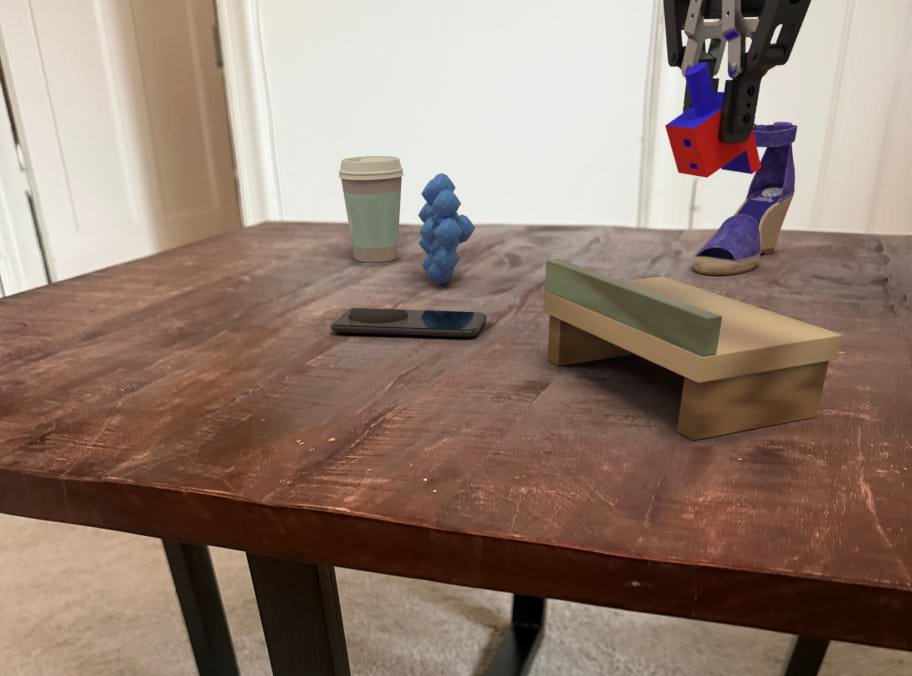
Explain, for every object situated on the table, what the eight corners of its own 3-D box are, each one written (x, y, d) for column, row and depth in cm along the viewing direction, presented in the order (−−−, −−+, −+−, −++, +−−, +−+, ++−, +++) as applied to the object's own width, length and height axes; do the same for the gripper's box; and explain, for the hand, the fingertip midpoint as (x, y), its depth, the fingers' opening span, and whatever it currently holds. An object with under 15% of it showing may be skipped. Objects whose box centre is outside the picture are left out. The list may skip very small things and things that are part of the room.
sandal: (668, 269, 109) (685, 130, 100) (752, 246, 120) (774, 119, 111) (726, 278, 104) (749, 133, 95) (808, 253, 115) (835, 121, 106)
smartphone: (488, 319, 90) (349, 315, 93) (488, 311, 90) (348, 306, 92) (476, 339, 84) (328, 334, 87) (476, 330, 84) (327, 325, 86)
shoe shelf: (654, 343, 82) (665, 246, 77) (823, 416, 65) (851, 297, 60) (541, 360, 78) (545, 259, 73) (689, 442, 61) (707, 317, 56)
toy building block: (684, 195, 65) (653, 85, 60) (730, 162, 65) (703, 49, 60) (713, 201, 62) (683, 86, 57) (761, 167, 62) (735, 49, 57)
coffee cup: (375, 250, 124) (370, 154, 117) (419, 256, 119) (416, 157, 113) (331, 260, 119) (323, 160, 112) (376, 267, 114) (370, 163, 107)
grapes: (488, 291, 101) (489, 175, 94) (431, 296, 100) (429, 178, 93) (463, 271, 110) (462, 164, 104) (411, 275, 109) (407, 167, 103)
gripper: (899, -213, 48) (827, 144, 58) (733, -162, 59) (696, 131, 69) (790, -222, 46) (734, 151, 55) (639, -167, 57) (614, 137, 66)
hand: (713, 139), depth 62 cm, fingers closed on toy building block, 3 cm apart
